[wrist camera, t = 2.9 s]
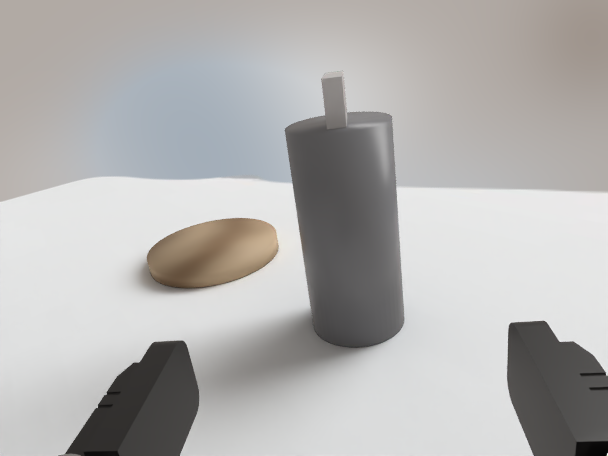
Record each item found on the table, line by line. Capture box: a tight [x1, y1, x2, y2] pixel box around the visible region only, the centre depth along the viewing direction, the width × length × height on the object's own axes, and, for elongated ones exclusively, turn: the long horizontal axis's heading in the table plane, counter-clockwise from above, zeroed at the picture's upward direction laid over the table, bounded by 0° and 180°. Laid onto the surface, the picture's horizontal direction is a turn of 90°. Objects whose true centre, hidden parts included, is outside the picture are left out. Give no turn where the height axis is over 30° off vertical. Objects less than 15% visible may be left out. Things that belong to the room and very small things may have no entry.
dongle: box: [285, 71, 404, 347], centre depth 22 cm, size 5×5×12 cm
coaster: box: [147, 218, 278, 288], centre depth 34 cm, size 9×9×1 cm
